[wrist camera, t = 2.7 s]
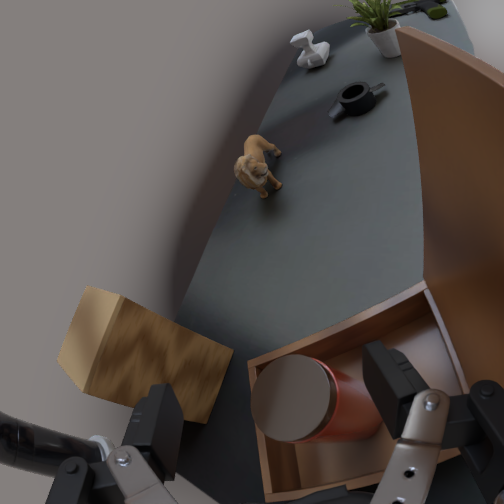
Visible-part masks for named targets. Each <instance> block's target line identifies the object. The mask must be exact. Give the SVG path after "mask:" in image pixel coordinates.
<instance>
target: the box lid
mask: <svg viewBox="0 0 504 504" xmlns="http://www.w3.org/2000/svg"><path fill="white" fill-rule="evenodd" d="M395 33H396V36H397V40H398V44H399V48H400V52H401V56H402V60H403V64H404V69H405V73H406V78H407V83H408V88H409V93H410V99H411V104H412V110H413V116H414V123H415V130H416V137H417V145H418V153H419V163H420V173H421V186H422V202H423V227H424V271H423V278H424V280H425V282H426V284H427V286H428V288H429V290H430V292H431V294H432V297H433V299H434V301H435V303H436V305H437V308H438V310H439V312H440V314H441V317H442V319H443V321H444V324H445V326H446V328H447V331H448V333H449V336H450V338H451V341H452V343H453V346H454V348H455V351H456V353H457V356H458V359H459V361H460V364H461V367H462V369H463V372H464V375H465V378H466V381H467V384H468V386H469V389H470V388H471V387H472V385H473V384H474V383H476V382H478V381H480V380H492V381H495V382H497V383H498V384H499V385H500V386H501V387H502V388H503V389H504V73H503V72H501V71H500V70H498V69H496V68H495V67H493V66H491V65H489V64H487V63H486V62H484V61H482V60H480V59H479V58H477V57H475V56H473V55H471V54H469V53H467V52H465V51H464V50H462V49H460V48H458V47H455V46H453V45H451V44H449V43H447V42H445V41H443V40H441V39H438V38H436V37H434V36H432V35H429V34H427V33H425V32H422V31H420V30H417V29H415V28H412V27H410V26H405V27H401V28H396V29H395Z"/></svg>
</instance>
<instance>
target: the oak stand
mask: <svg viewBox="0 0 504 504" xmlns="http://www.w3.org/2000/svg"><path fill="white" fill-rule="evenodd" d="M233 351H234V350H232V349H230V348H228V347H226V346H223V345H221V344H219V343H217V342H214V341H212V340H210V339H208V338H206V337H204V336H201V335H199V334H197V333H195V332H193V331H191V330H189V329H187V328H184V327H182V326H180V325H178V324H176V323H174V322H172V321H170V320H168V319H166V318H164V317H162V316H160V315H158V314H156V313H154V312H152V311H150V310H148V309H146V308H144V307H143V306H141V305H138V304H137V303H135V302H133V301H131V300H129V299H127V298H125V299H124V301H123V303H122V306H121V308H120V311H119V313H118V315H117V318H116V320H115V323H114V325H113V327H112V330H111V332H110V335H109V337H108V340H107V342H106V345H105V348H104V350H103V353H102V355H101V358H100V361H99V363H98V366H97V369H96V371H95V374H94V377H93V380H92V383H91V385H90V388H89V391H88V395H92V396H95V397H98V398H101V399H104V400H107V401H111V402H114V403H117V404H121V405H124V406H128V407H132V408H134V407H135V405H136V404H137V403H138V401H139V400H140V399H141V398H142V397H147V396H148V393H149V390H150V387H151V385H153V384H163V383H170V384H171V386H172V388H173V390H174V393H175V395H176V397H177V399H178V402H179V404H180V406H181V408H182V411H183V416H184V420H187V421H193V422H198V423H203V424H207V421H208V419H209V416H210V413H211V411H212V408H213V405H214V403H215V400H216V397H217V395H218V392H219V389H220V387H221V384H222V381H223V378H224V376H225V373H226V370H227V368H228V365H229V362H230V359H231V357H232V354H233Z"/></svg>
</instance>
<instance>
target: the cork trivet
mask: <svg viewBox="0 0 504 504" xmlns="http://www.w3.org/2000/svg"><path fill="white" fill-rule="evenodd" d="M124 299H125V297H124V296H122V295H119V294H115V293H112V292H108V291H105V290H101V289H98V288H95V287H91V286H88V285H87V287H86V289H85V291H84V293H83V296H82V298H81V300H80V303H79V305H78V307H77V310H76V312H75V315H74V317H73V319H72V322H71V325H70V327H69V330H68V332H67V335H66V337H65V340H64V342H63V345H62V348H61V350H60V353H59V356H58V359H57V362H58V363H59V365H60V366H61V367H62V368H63V370H64V371H65V372H66V373H67V375H68V376H69V377H70V378H71V380H72V381H73V382H74V383H75V384H76V386H77V387H78V388H79V389H80V390H81V391H82V392H83V393H86V394H88V391H89V388H90V385H91V383H92V380H93V377H94V374H95V371H96V369H97V366H98V363H99V361H100V358H101V355H102V353H103V350H104V348H105V345H106V342H107V340H108V337H109V335H110V332H111V330H112V327H113V325H114V323H115V320H116V318H117V315H118V313H119V311H120V308H121V306H122V303H123V301H124Z"/></svg>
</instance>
